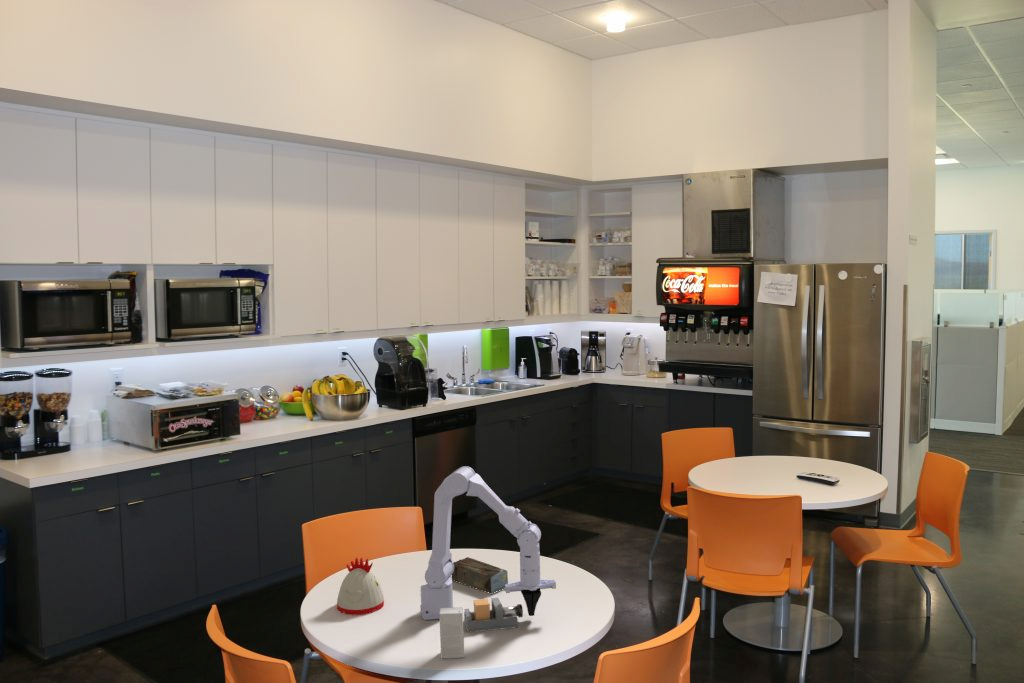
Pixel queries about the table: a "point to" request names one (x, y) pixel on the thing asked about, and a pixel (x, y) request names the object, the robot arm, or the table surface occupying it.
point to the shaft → (513, 611)
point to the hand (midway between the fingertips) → (531, 614)
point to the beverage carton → (480, 575)
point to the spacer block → (481, 609)
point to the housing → (494, 621)
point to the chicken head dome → (360, 590)
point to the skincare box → (451, 632)
